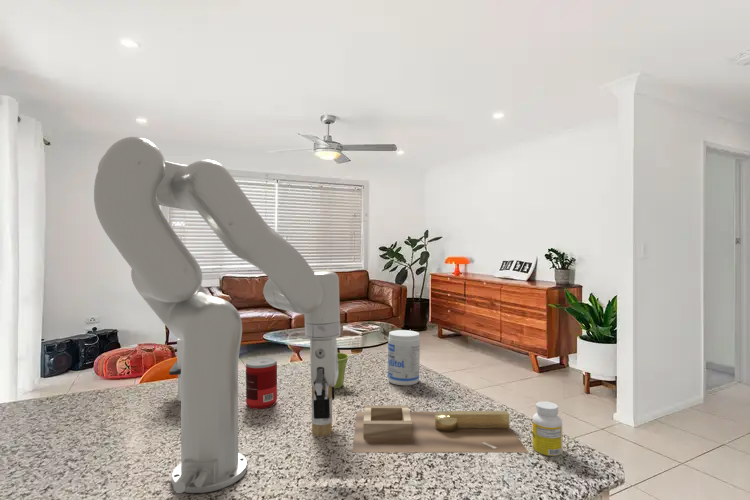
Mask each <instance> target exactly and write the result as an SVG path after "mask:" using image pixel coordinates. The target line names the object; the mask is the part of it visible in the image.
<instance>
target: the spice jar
mask: <svg viewBox="0 0 750 500" xmlns="http://www.w3.org/2000/svg"><path fill="white" fill-rule="evenodd" d="M314 382H315V381H314ZM323 383H326V382H323ZM322 389H324V391H325V388H322ZM328 398H329V403H330V417H329V418H328V419H315V418H314V405H313V399H314V387H313V386H312V384H311V434H312V435H314V436H315V437H327V436H329V435H330V434H331V435H332V431H333V423H332V422H333V400H332V386H329V387H328Z"/></svg>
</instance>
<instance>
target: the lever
mask: <svg viewBox="0 0 750 500" xmlns="http://www.w3.org/2000/svg"><path fill="white" fill-rule="evenodd" d="M436 412H437V413H435V427H436V428H437V429H439V430H442V431H454V430H457V429H458V428H509V427H510V413H509V412H508V411H507V410H488V411H487V410H441V411H436Z"/></svg>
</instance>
